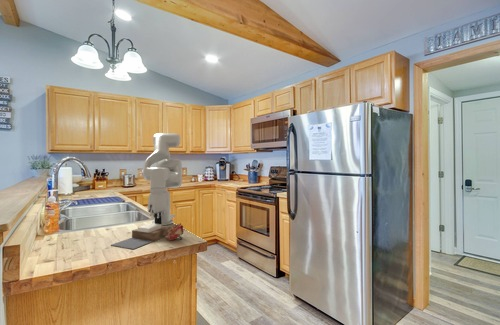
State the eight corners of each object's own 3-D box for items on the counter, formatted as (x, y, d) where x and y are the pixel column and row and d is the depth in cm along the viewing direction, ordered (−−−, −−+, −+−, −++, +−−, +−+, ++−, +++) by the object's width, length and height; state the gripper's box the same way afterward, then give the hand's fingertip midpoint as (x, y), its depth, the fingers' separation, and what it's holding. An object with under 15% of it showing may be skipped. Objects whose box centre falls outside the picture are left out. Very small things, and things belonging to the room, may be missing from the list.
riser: (150, 231, 142) (150, 224, 142) (171, 234, 137) (171, 226, 137) (132, 238, 130) (131, 230, 130) (153, 241, 125) (153, 233, 125)
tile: (150, 226, 137) (150, 223, 137) (161, 228, 135) (161, 224, 135) (137, 231, 129) (137, 227, 129) (148, 232, 126) (148, 228, 126)
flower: (187, 232, 134) (178, 220, 134) (189, 233, 126) (179, 221, 125) (172, 245, 130) (162, 233, 130) (173, 247, 122) (162, 234, 121)
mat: (131, 238, 130) (131, 237, 130) (152, 241, 125) (152, 241, 125) (110, 245, 119) (110, 244, 119) (133, 249, 114) (133, 248, 114)
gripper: (162, 189, 146) (162, 221, 146) (141, 192, 132) (142, 227, 132) (172, 189, 143) (172, 222, 143) (153, 192, 129) (153, 229, 129)
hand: (158, 225), depth 137 cm, fingers closed
